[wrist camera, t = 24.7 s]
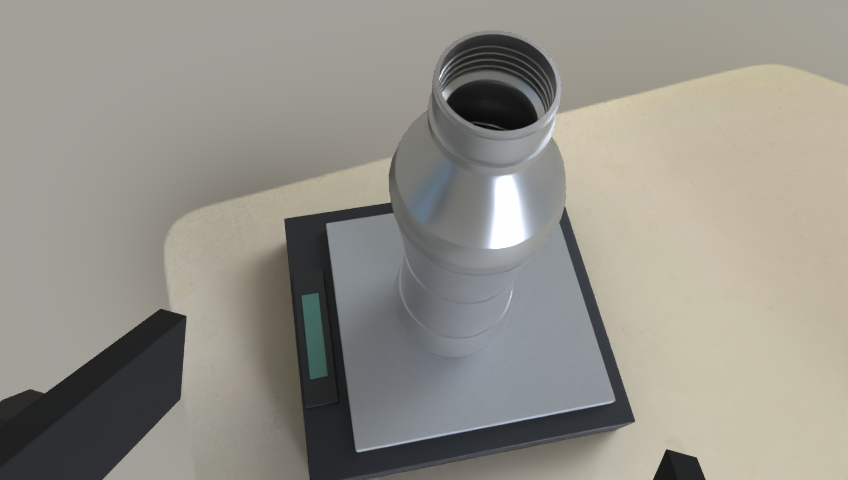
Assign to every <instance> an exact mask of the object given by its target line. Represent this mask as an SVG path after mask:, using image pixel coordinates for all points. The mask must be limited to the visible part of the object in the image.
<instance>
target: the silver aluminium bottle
mask: <svg viewBox="0 0 848 480" xmlns="http://www.w3.org/2000/svg"><path fill="white" fill-rule="evenodd" d="M432 87H433V88H432V93H431V95H430V99H429V105H428V110H427V111H426V112H424V113H423V114H422V115H421V116H420V117H419V118H418V119H416V120H415V121H414V122H413V123H412V125H411V126H410V127H409V128H408V130H407V131H406V133H405V134H404V136H403V137H402V140H401V141H400V143H399V145H398V148H397V150H396V152H395V154H394V156H393V158H392V162H391V167H390V172H389V192H390V197H391V203H392V207H393V211H394V216H395V218H396V221H397V224H398V227H399V230H400V233H401V235H402V238H403V244H404V250H405V254H404V258H403V260H402V262H401V265H400V267H399V270H398V272H397V276H396V279H395V284H394V305H395V309H396V313H397V316H398V318H399V320H400V322H401V324H402V326H403V327H404V329H405V330H406V331H407V333H408V334H409V336H410V337H411V338H412V339H413V340H414V341H415V342H416V343H417V344H418V345H419V346H421V347H422V348H424V349H425V350H427V351H429V352H431V353H434V354H436V355H440V356H445V357H462V356H466V355H470V354H473V353H475V352H477V351H479V350H481V349H483V348H485V347H486V346H488V345H489V344H490V343H492V342H493V341H494V340H495V339H496V338H497V337H498V336H499V335H500V334H501V332H502V331H503V329H504V328H505V326H506V324H507V322H508V319H509V316H510V313H511V309H512V300H513V283H514V279H515V278H516V276H517V274H518V273H519V271H520V270H521V268H522V267H523V266H524V265H525V264H526V263H527V262H528V261H529V260H530V259H531V258H532V257H533V256H534V255H535V254H536V253H537V252H538V251H539V250H540V249H541V248H542V247H543V246H544V244H545V243H546V242H547V241H548V239H549V238H550V236H551V235H552V234H553V232H554V231H555V229H556V227H557V225H558V223H559V221H560V220H561V217H562V213H563V210H564V206H565V200H566V176H565V169H564V163H563V159H562V156H561V153H560V151H559V148H558V146H557V144H556V143H555V141H554V139H553V138H552V133H553V130H554V127H555V115H556V112H557V110H558V107H559V103H560V99H561V79H560V74H559V72H558V70H557V67H556V65H555V64H554V62H553V60H552V59H551V57H550V56H549V55H548V54H547V53H546V52H545V51H544V50H543V49H542V48H541V47H540V46H538V45H537V44H535V43H534V42H532V41H530V40H529V39H527V38H524V37H522V36H520V35H517V34H513V33H510V32H504V31H481V32H475V33H472V34H469V35H466V36H463V37H462V38H460V39H458V40H456V41H454V42H453V43H452V44H451V45H450V46H449V47H448V48H446V49H445V51H444V52H443V53H442V55H441V56H440V58H439V60H438V63H437V65H436V69H435V71H434V76H433V85H432Z"/></svg>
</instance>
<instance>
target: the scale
mask: <svg viewBox="0 0 848 480" xmlns="http://www.w3.org/2000/svg"><path fill="white" fill-rule="evenodd" d="M284 221H285V231H286V241H287V251H288V261H289V272H290V282H291V292H292V302H293V312H294V322H295V333H296V343H297V353H298V363H299V373H300V383H301V393H302V404H303V414H304V424H305V434H306V444H307V454H308V464H309V475H310V480H365V479H370V478H375V477H380V476H385V475H390V474H395V473H400V472H405V471H410V470H415V469H420V468H425V467H430V466H435V465H440V464H445V463H450V462H455V461H460V460H465V459H470V458H475V457H480V456H485V455H490V454H495V453H500V452H505V451H510V450H515V449H520V448H525V447H530V446H536V445H541V444H546V443H551V442H556V441H561V440H566V439H571V438H576V437H581V436H586V435H591V434H596V433H601V432H606V431H611V430H616V429H619V428H622V427H624V426H626V425H629V424H631V423H633V422H635V419H634V416H633V413H632V410H631V407H630V404H629V401H628V398H627V395H626V392H625V389H624V386H623V382H622V379H621V376H620V373H619V370H618V367H617V364H616V361H615V358H614V355H613V352H612V349H611V346H610V343H609V340H608V337H607V334H606V330H605V327H604V324H603V321H602V318H601V315H600V312H599V309H598V306H597V303H596V300H595V297H594V294H593V291H592V288H591V285H590V282H589V278H588V275H587V272H586V269H585V266H584V263H583V260H582V257H581V254H580V251H579V248H578V245H577V242H576V239H575V236H574V233H573V230H572V226H571V223H570V220H569V217H568V214H567V211H566V208H565V206H564V210H563V213H562V217H561V220H560V221H559V223H558V225H557V227H556V229H555V231H554V232H553V234H552V235H551V236H550V238H549V239H548V241H547V242H546V243H545V244H544V246H543V247H542V248H541V249H540V250H539V251H538V252H537V253H536V254H535V255H534V256H533V257H532V258H531V259H530V260H529V261H528V262H527V263H526V264H525V265H524V266H523V267H522V268H521V270H520V271H519V273H518V274H517V276H516V278H515V279H514V283H513V300H512V309H511V313H510V316H509V319H508V322H507V324H506V326H505V328H504V329H503V331H502V332H501V334H500V335H499V336H498V337H497V338H496V339H495V340H494V341H493V342H492V343H490V344H489V345H488V346H486V347H485V348H483V349H481V350H479V351H477V352H475V353H473V354H470V355H466V356H462V357H445V356H440V355H436V354H434V353H431V352H429V351H427V350H425V349H424V348H422V347H421V346H419V345H418V344H417V343H416V342H415V341H414V340H413V339H412V338H411V337H410V336H409V334H408V333H407V331H406V330H405V329H404V327H403V326H402V324H401V322H400V320H399V318H398V316H397V313H396V309H395V305H394V284H395V279H396V276H397V272H398V270H399V267H400V265H401V262H402V260H403V258H404V254H405V250H404V244H403V238H402V235H401V233H400V230H399V227H398V224H397V221H396V218H395V216H394V211H393V207H392V203H385V204H379V205H372V206H366V207H359V208H352V209H346V210H339V211H333V212H326V213H319V214H313V215H306V216H300V217H293V218H286V219H284Z"/></svg>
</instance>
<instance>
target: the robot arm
mask: <svg viewBox="0 0 848 480" xmlns="http://www.w3.org/2000/svg"><path fill="white" fill-rule="evenodd" d="M186 317H187V316H185V315H181V314H178V313H174V312H170V311H166V310H163V309H160V310H158V311H157V312H156V313H154V314H153V315H151V316H150V317H149V318H147V319H146V320H145V321H143V322H142V323H141V324H139V325H138V326H137V327H135V328H134V329H132V330H131V331H130V332H128V333H127V334H126V335H124V336H123V337H121V338H120V339H119V340H117V341H116V342H115V343H113V344H112V345H111V346H109V347H108V348H106V349H105V350H104V351H102V352H101V353H100V354H98V355H97V356H96V357H94V358H93V359H91V360H90V361H89V362H88V363H86V364H85V365H83V366H82V367H80V368H79V369H78V370H77V371H75V372H74V373H73V374H71V375H70V376H68V377H67V378H65V379H64V380H63V381H62V382H60V383H59V384H57V385H56V386H55V387H53V388H52V389H50V390H49V391H48V392H46V393H45V394H44V393H41V392H38V391H34V390H31V389H30V390H27V391H24V392H22V393H19V394H17V395H14V396H11V397H9V398H6V399H4V400H2V401H1V402H0V480H102V479H103V478H104V477H105V476H106V475H107V474H108V473H109V472H110V471H111V470H112V469H113V468H114V467H115V466H116V465H117V464H118V463H119V462H120V461H121V460H122V459H123V458H124V457H125V456H126V455H127V454H128V453H129V451H130V450H131V449H132V448H133V447H134V446H135V445H136V444H137V443H138V442H139V441H140V440H141V439H142V438H143V437H144V436H145V435H146V434H147V433H148V432H149V431H150V430H151V429H152V428H153V427H154V426H155V425H156V424H157V423H158V421H159V420H160V419H161V418H162V417H163V416H164V415H165V414H166V413H167V412H168V411H169V410H170V409H171V408H172V407H173V406H174V405H175V404H176V403H177V402H178V401H179V400H180V397H181V384H182V370H183V357H184V344H185V330H186ZM653 480H706V479H705V477H704V474H703V472H702V470H701V467H700V465H699V462H698V460H697V458H696V457H693V456H689V455H685V454H682V453H678V452H675V451H671V450H667V449H666V451H665V454H664V456H663V458H662V461H661V463H660V465H659V467H658V470H657V472H656V474H655V477H654V479H653Z"/></svg>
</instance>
